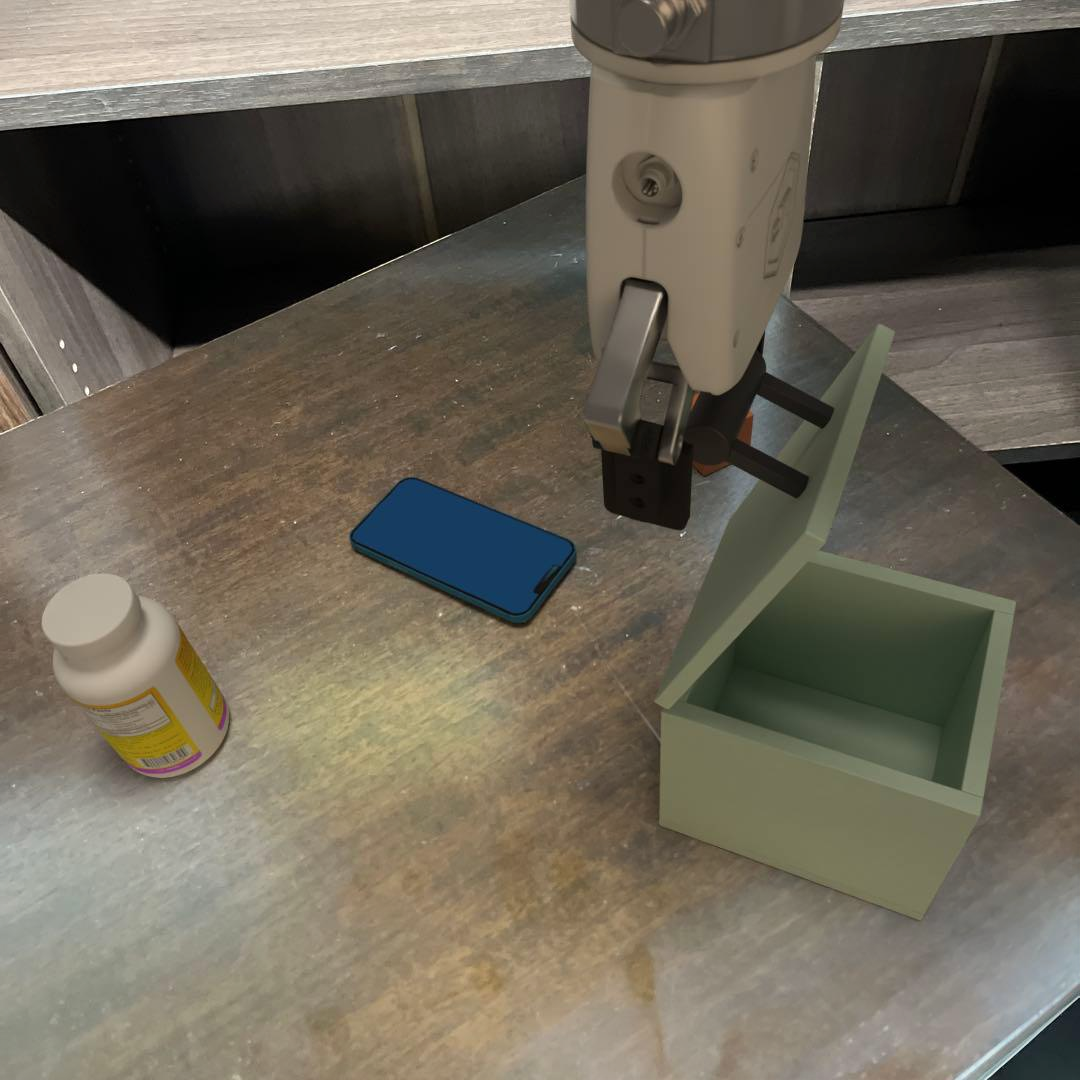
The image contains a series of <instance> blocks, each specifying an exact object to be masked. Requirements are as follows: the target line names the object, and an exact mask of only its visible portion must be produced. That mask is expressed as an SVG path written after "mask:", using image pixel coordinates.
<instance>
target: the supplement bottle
mask: <svg viewBox="0 0 1080 1080" xmlns="http://www.w3.org/2000/svg"><path fill="white" fill-rule="evenodd" d="M41 629H42V630H43V634H44V636H45V637H46V638H47V640H48V641H49V643H50V644H51V645H52V647H53V653H52V669H53V674H54V677H55V679H56V681H57V684H59V686H60V688H62V690H63V691H64V693H66V696H68V697H69V698H70V700H71V701H72V702H73V703H74V704H75V705H76V706H77V707H78V708H79V709H80V711H81V712H82V713H83V714H84V716H85V717H86V718H87V719H88V720H89V722H90V723H91V724H92V725H93V727H95V728H96V730H97V731H98V732H99V733H100V735H102V737H103V738H104V739H105V740H106V742H107V743H108V744H109V745H110V746H111V747H112V749H113V750H114V751H115V752H116V753H117V755H118V756H120V758H121V759H122V760H123V761H124V762H125V763H126V765H128V766H129V767H130V768H131V769H132V770H134V771H135V772H137V773H139V774H141V775H143V776H146V777H150V778H157V779H158V778H160V779H162V778H163V779H164V778H165V779H166V778H172V777H177V776H181V775H184V774H186V773H189V772H190V771H193V770H194V769H197V768H198V767H200V766H201V765H202V764H204V763H205V762H207V760H209V759H210V758H211V757H212V756H213V755H214V754H215V752H216V751H217V750H218V749H219V747H220V746H221V744H222V742H223V741H224V739H225V737H226V734H227V731H228V728H229V725H230V724H229V723H230V710H229V705H228V702H227V700H226V698H225V696H224V694H223V693H222V691H221V690H220V688H219V687H218V685H217V683H216V681H215V680H214V679H213V677H212V675H211V673H210V672H209V670H208V669H207V668H206V666H205V664H204V663H203V661H202V659H201V658H200V656H199V655H198V653H197V651H196V650H195V648H194V647H193V646H192V644H191V642H190V641H189V639H188V637H187V636H186V634H185V633H184V631H183V630H182V628H181V626H180V624H179V623H178V621H177V620H176V618H175V617H174V615H173V614H172V613H171V611H170V610H169V609H168V607H166V606H165V605H163V604H162V603H160V602H159V601H157V600H154V599H152V598H150V597H147V596H142V595H137V593H136V591H135V590H134V588H133V587H132V586H131V584H130V583H129V582H128V581H127V580H126V579H124V578H123V577H121V576H119V575H116V574H113V573H104V572H101V573H93V574H88V575H85V576H81V577H79V578H76V579H74V580H73V581H71V582H69V583H67V584H66V585H64V586H63V587H61V588H60V589H59V590H58V591H57V592H56V593H55V594H54V595H53V596H52V597H51V598H50V600H49V601H48V603H47V604H46V606H45V608H44V610H43V613H42V616H41Z"/></svg>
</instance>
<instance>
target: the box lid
mask: <svg viewBox="0 0 1080 1080" xmlns="http://www.w3.org/2000/svg"><path fill="white" fill-rule="evenodd" d="M895 334H896V332H895V330H893V329H892V328H890V327H888V326H887V325H884V324H882V323H880V322H879V323H877V324H876V325H875V326H874V328H873V329H872V330H871V332H870V333H869V334H868V336H867V337H866V338H865V340H864V341H862V344H861V345H860V346H859V347H858V349H857V350H856V351H855V353H854V354H853V355H852V357H851V358H850V359H849V360H848V362H847V363H846V364H845V366H844V367H843V368H842V370H841V371H840V373H839V374H838V375H837V377H836V378H835V379H834V380H833V382H832V383H831V385H830V386H829V387H828V389H827V390H826V391H825V393H824V394H823V395H822V396H821V397H820V399H818V398H817V397H814V396H812V395H811V394H809V393H807V392H805V391H803V390H801V389H800V388H797V387H795V386H794V385H792V384H791V383H788V382H786V381H784V380H782V379H781V378H778V377H776V376H775V375H773V374H770V373H769V372H767V363H766V359H765V358H764V356H763V355H761V354H760V353H759V352H758V351H757V350H755V352H754V354H753V356H752V359H751V361H750V363H749V365H748V367H747V369H746V370H745V372H744V374H743V376H742V378H741V379H740V380H739V382H738V383H737V384H736V385H734V386H733V387H732V388H731V389H730V390H728V391H726V392H725V393H723V394H721V395H712V394H711V393H709V392H703V391H699V395H698V397H697V400H696V402H695V404H694V406H693V408H692V410H691V412H690V416H689V420H688V424H687V429H686V433H685V437H684V441H685V442H687V443H688V444H692V445H693V461H694V462H696V463H699V464H702V465H708V466H713V465H718V464H721V463H723V462H724V461H726V462H728V463H730V464H729V465H732V466H734V467H735V468H737V469H739V470H741V471H743V472H745V473H747V474H748V475H750V476H753V477H754V478H756V479H757V480H758V481H757V482H756V483H755V485H754V486H753V487H752V489H751V490H750V491H749V492H748V494H747V496H746V497H745V498H744V499H743V501H742V502H741V503H740V505H739V506H738V508H737V509H736V510H735V511H734V512H733V514H732V515H731V516H730V518H729V519H728V522H727V524H726V526H725V529H724V531H723V534H722V536H721V539H720V541H719V543H718V546H717V548H716V551H715V553H714V555H713V558H712V559H711V561H710V562H711V563H710V566H709V567H708V570H707V572H706V575H705V577H704V579H703V581H702V584H701V586H700V588H699V591H698V593H697V595H696V598H695V601H694V604H693V606H692V608H691V611H690V613H689V615H688V618H687V620H686V623H685V625H684V627H683V630H682V632H681V634H680V637H679V638H678V639H679V640H678V642H677V644H676V647H675V649H674V651H673V653H672V656H671V659H670V661H669V663H668V666H667V667H666V671H665V673H664V675H663V678H662V680H661V683H660V685H659V687H658V690H657V692H656V695H655V697H654V699H653V702H654V704H657V705H659V706H660V707H662V708H663V707H664V708H666V709H670V708H671V707H672V706H673V705H674V703H675V702H676V701H677V700H678V699H679V698H680V697H681V696H682V695H683V694H684V693H685V692H686V691H687V690H688V689H689V688H690V686H691V685H692V684H693V683H694V682H695V681H696V680H697V679H698V678H699V677H700V676H701V675H702V674H703V673H704V672H705V670H706V669H707V668H708V667H709V666H710V665H711V664H712V663H713V662H714V661H715V660H716V659H717V658H718V657H719V656H720V655H721V653H722V652H723V651H724V650H725V649H726V648H727V647H728V646H729V645H730V644H731V643H732V642H733V641H734V640H735V639H736V638H737V636H738V635H739V634H740V633H741V632H742V631H743V630H744V629H745V628H746V627H747V626H748V625H749V624H750V623H751V622H752V620H753V619H754V618H755V617H756V616H757V615H758V614H759V613H760V612H761V611H762V610H763V609H764V608H765V607H766V606H767V605H768V603H769V602H770V601H771V600H772V599H773V598H774V597H775V596H776V595H777V594H778V593H779V592H780V591H781V590H782V589H783V588H784V586H785V585H786V584H787V583H788V582H789V581H790V580H791V579H792V578H793V577H794V576H795V575H796V574H797V573H798V572H799V571H800V569H801V568H802V567H803V566H804V565H805V564H806V563H807V562H808V561H809V560H810V559H811V558H812V557H813V556H814V555H815V553H816V552H817V551H818V550H819V551H820V550H821V548H823V546H824V545H825V544H826V543H827V540H828V537H829V535H830V531H831V528H832V525H833V523H834V519H835V516H836V513H837V511H838V507H839V504H840V501H841V498H842V496H843V493H844V489H845V487H846V483H847V480H848V477H849V474H850V471H851V468H852V464H853V462H854V458H855V456H856V452H857V449H858V447H859V443H860V440H861V437H862V434H863V431H864V428H865V426H866V422H867V419H868V417H869V414H870V410H871V407H872V404H873V401H874V398H875V395H876V392H877V390H878V386H879V384H880V380H881V377H882V374H883V371H884V368H885V364H886V361H887V358H888V357H889V356H888V355H889V353H890V350H891V346H892V343H893V341H894V338H895ZM756 396H758V397H760V398H762V399H764V400H766V401H768V402H770V403H772V404H774V405H776V406H777V407H779V408H781V409H783V410H785V411H787V412H789V413H791V414H793V415H795V416H796V417H798V418H800V419H802V420H803V422H802V423H801V424H800V425H799V427H798V428H797V429H796V431H795V432H794V434H793V435H792V436H791V437H790V438H789V440H787V443H786V444H785V445H784V447H782V449H781V450H780V451H779V453H778V454H777V456H776V457H773V456H771V455H769V454H768V453H765V452H764V451H761V450H759V449H757V448H755V447H754V446H752V445H748V444H746V443H744V442H742V441H741V440H739V439H737V437H738V435H739V433H740V431H741V428H742V426H743V424H744V421H745V419H746V417H747V415H748V412H749V411H751V408H752V405H753V403H754V401H755V399H756Z"/></svg>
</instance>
